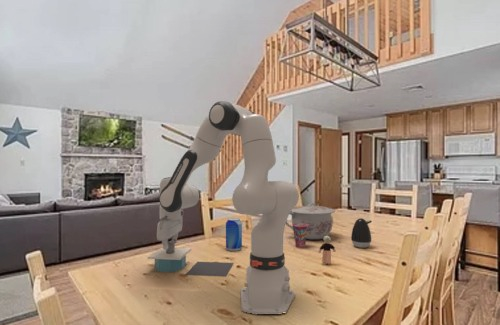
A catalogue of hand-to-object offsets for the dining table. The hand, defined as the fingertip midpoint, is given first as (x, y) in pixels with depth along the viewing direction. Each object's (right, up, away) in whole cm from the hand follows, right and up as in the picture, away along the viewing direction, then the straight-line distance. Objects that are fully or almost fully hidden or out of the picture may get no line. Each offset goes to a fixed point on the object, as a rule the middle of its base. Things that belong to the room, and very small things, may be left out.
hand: (170, 246), depth 137 cm
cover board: (0, -4, 0) cm, 4 cm away
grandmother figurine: (+69, -9, +4) cm, 70 cm away
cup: (+62, -9, +33) cm, 71 cm away
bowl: (0, -10, 0) cm, 10 cm away
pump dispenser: (+94, -9, +32) cm, 100 cm away
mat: (+18, -9, -2) cm, 20 cm away
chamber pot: (+72, -9, +54) cm, 90 cm away
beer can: (+26, -10, +29) cm, 40 cm away
